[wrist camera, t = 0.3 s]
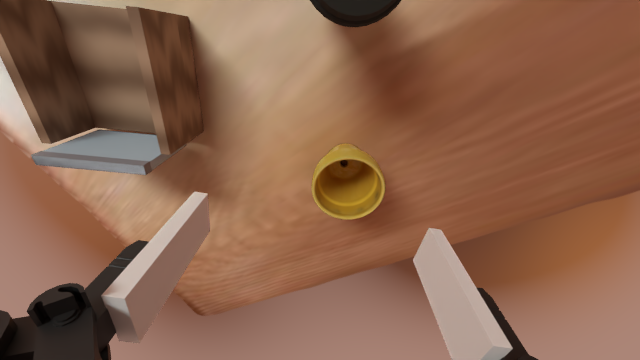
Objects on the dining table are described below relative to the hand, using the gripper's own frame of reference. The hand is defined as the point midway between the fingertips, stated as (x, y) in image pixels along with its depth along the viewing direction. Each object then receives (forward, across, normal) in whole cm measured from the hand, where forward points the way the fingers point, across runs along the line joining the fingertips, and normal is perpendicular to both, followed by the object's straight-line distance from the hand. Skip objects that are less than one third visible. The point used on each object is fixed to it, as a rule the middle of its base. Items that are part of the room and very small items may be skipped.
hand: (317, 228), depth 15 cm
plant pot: (+28, +5, -8) cm, 29 cm away
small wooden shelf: (+28, -28, +1) cm, 39 cm away
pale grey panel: (+25, -27, -7) cm, 37 cm away
